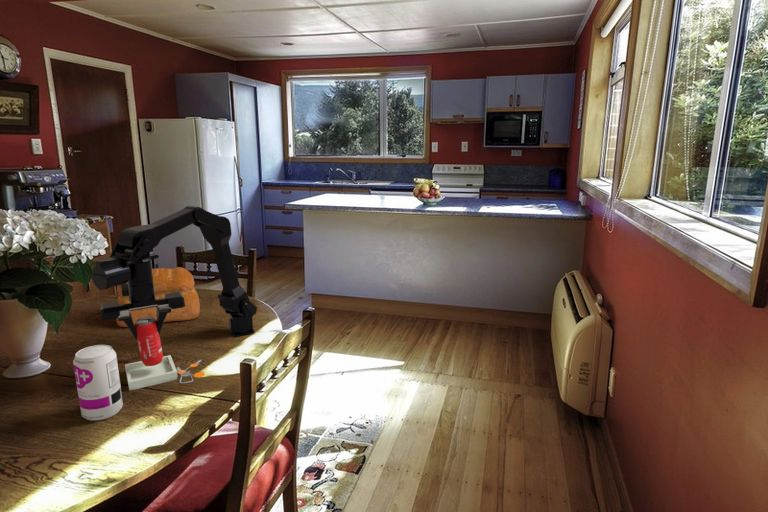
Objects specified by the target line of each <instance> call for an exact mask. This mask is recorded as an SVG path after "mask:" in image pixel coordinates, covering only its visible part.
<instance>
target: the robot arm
mask: <svg viewBox="0 0 768 512" xmlns="http://www.w3.org/2000/svg"><path fill="white" fill-rule="evenodd" d="M230 221H231V220H230V219H229V218H227V217H226V216H222V215H218V214H215V213H212V212H209V211H208V210H205V209H204V208H203V207H201V206H196V205H195V206H192V205H187V206H185V207H184V208H182V209H180V210H178V211H176V212H173V213H172V214H169V215H167V216H164V217H162V218H161V219H158V220H155V221H154V222H152V223H149V224H143V225H137V226H131V227H128V228H124V229H122V230H121V231H120V232H119V233H118V234H119V235H118V238H117V241H116V243H115V246H114V247H113V249H112V251H111V253H110V255H109V258H107V259H99V260H96V261H95V262H94V263H95V266H94V267H93V268H92V271H91V274H90V276H91V280H92V283H93V285H94V287H95V288H97V290H100V291H105V290H108V289H111V288H114V287H115V288H116V287H117V286H119V285H121V292H122V297H125V296H129V301H130V303H129V304H123V305H119V304H118V301H117V300H115V301H108V302H103V303H101V305H100V306H99V307H100V308H99V309H100V314H101V315H100V316H101V321H110V320H111V321H112V320H116V319H117V318H118V321H124V322H125V324H126V325H127V326H128V327H127V328H128V329H129V331H130V332H131V333H132V336H133V337H134V339H135V340H137V333H136V330H135V326H134V323H133V320H132V316H131V313H130V311H134V310H140V309H146V308H152V307H156V310H157V330H158V333H159V335H160V334H161V330H162V327H163V324H164V323H165V322H164V320H165V318H166V315H167V313H171V309H177V308H183V307H185V301H184V297H183V296H182V294H181V293H180V292H174V293H167V294H165V298H162V299H155V291H154V282H153V273H152V269H153V266H152V260H156V259H159V257H160V256H159V255H158V254H156V253H155V252H153V251H152V250H154V249H155V248H157V246H158V245H159V243H161V241H162V240H163V239H165V238H166V237H168V236H171V235H172V234H173V235H174V234H175V233H176V232H179V231H181V230H183V229H184V228H185V229H186V228H187V227H189V226H191V225H193V226H196V227H197V228H199V229H200V232H201V234H202V236H203V238H204V239H205V241H206V242H207V243H208V244H209V245H210V247H211V249H212V252H213V257H214V262H215V263H216V267H217V272H218V274H219V275H218V276H219V279H220V282H221V286H222V290H221V292H220V294H218V295H217V299H218V300H219V307H221V308H222V309H223V310H224V312H225V314H227V315H229V316H230V318H229V319H228V329H229V332H230V334H232V335H233V337H235V338H236V337H241V336H246V335H251V334H255V333H256V331H255V330H254V325H253V324H254V323H253V320H254V319H253V317H254V315H257V310H258V307H257V306H256V305H255V304H253V303H252V302H251V300H250V298H249V295H248V293H247V291H246V289H244V287H242V285H241V284H240V281H239V277H238V274H237V270H236V266H235V261H234V259H233V255H232V250H231V247H230V246H231V245H230V240H231V237H232V227H231V222H230ZM127 282H128V284H126V283H127ZM170 308H171V309H170Z"/></svg>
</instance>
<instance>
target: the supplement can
mask: <svg viewBox="0 0 768 512" xmlns="http://www.w3.org/2000/svg"><path fill="white" fill-rule="evenodd" d="M72 365H73V371H74V376H75V383H76V389H77V390H76V391H77V394H78V395H77V396H78V403H79V408H80V409H79V410H80V414H81V417H82V418H84V419H85V420H87V421H94V422H95V421H102V420H107V419H109V418H111V417H113V416H115V415H116V414H118V413H119V412H120V410H122V408H123V406H124V402H123V395H122V387H121V379H120V373H119V366H118V357H117V352H116V351H115V350H114V349H113V347H112V346H111V345H108V344H96V345H91V346H86V347H84V348H82V349H80V350H78V351H77V352H76V353H75V356H74V358H73V360H72Z"/></svg>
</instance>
